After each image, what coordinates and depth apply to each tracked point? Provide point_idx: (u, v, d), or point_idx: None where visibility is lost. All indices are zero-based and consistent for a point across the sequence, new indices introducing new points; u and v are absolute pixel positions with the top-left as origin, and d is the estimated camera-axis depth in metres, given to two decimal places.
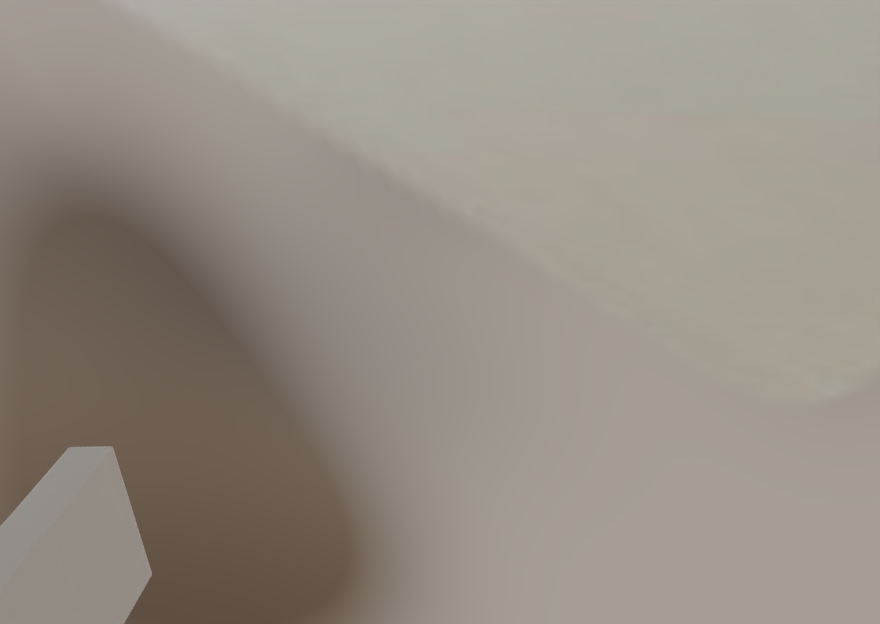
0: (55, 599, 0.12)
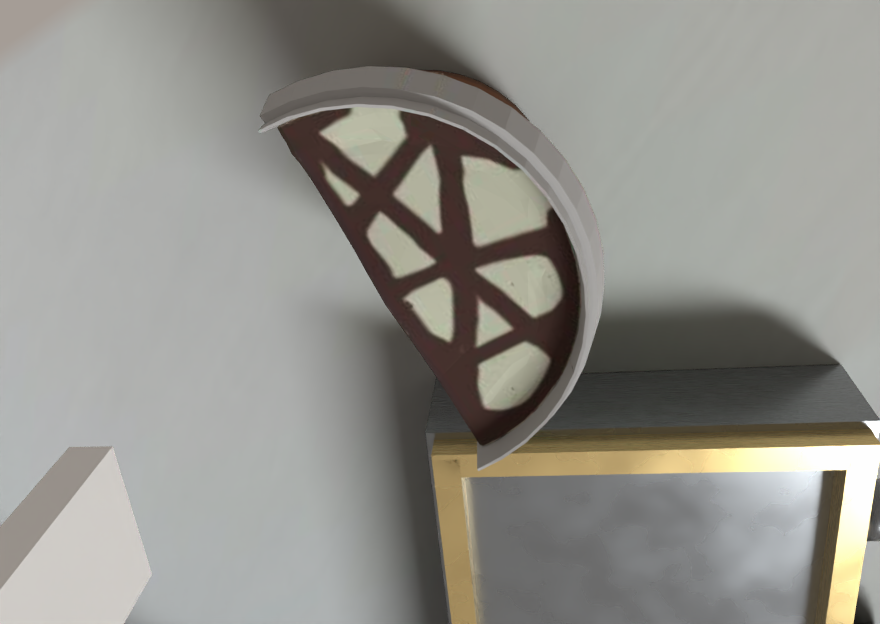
0: (55, 599, 0.12)
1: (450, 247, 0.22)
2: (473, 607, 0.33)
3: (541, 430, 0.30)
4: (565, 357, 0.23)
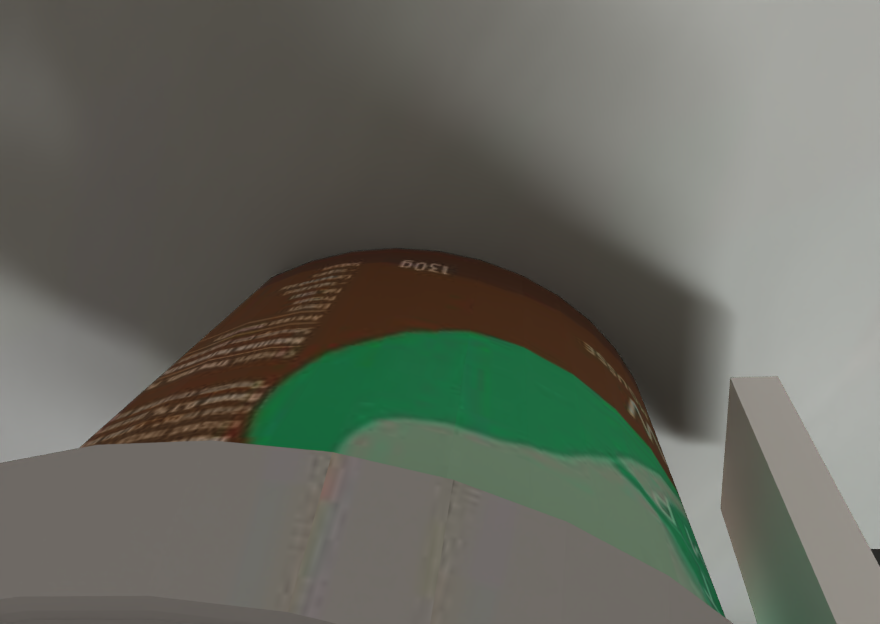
0: None
1: None
2: None
3: None
4: None
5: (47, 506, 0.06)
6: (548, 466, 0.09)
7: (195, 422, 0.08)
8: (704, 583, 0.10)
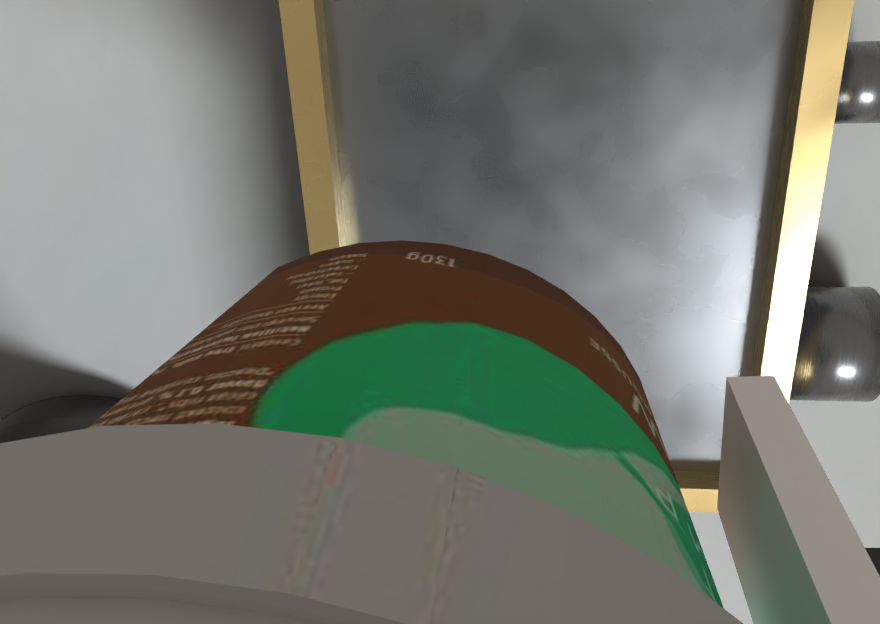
0: None
1: None
2: (331, 186, 0.25)
3: None
4: None
5: (52, 485, 0.06)
6: (551, 458, 0.09)
7: (200, 407, 0.08)
8: (705, 578, 0.10)
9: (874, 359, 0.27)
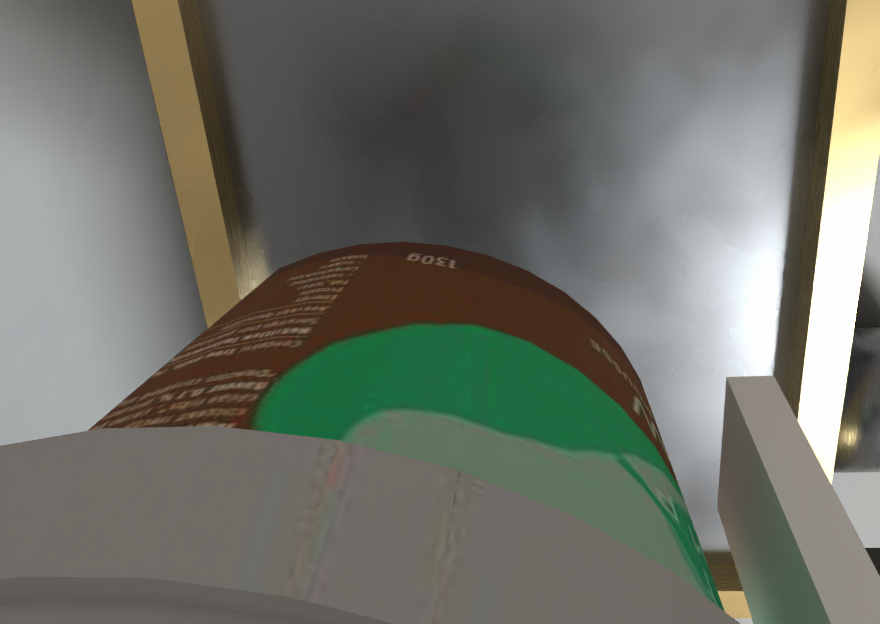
0: None
1: None
2: (224, 234, 0.19)
3: None
4: None
5: (53, 488, 0.06)
6: (552, 460, 0.09)
7: (201, 409, 0.08)
8: (706, 581, 0.10)
9: None
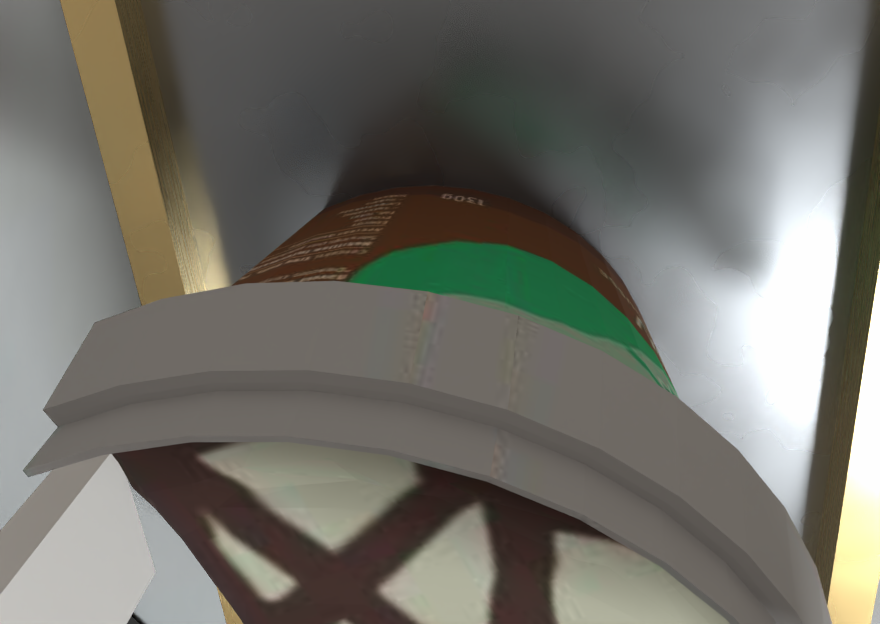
0: (60, 597, 0.12)
1: None
2: (180, 284, 0.17)
3: None
4: None
5: (215, 321, 0.08)
6: (578, 338, 0.11)
7: None
8: None
9: None
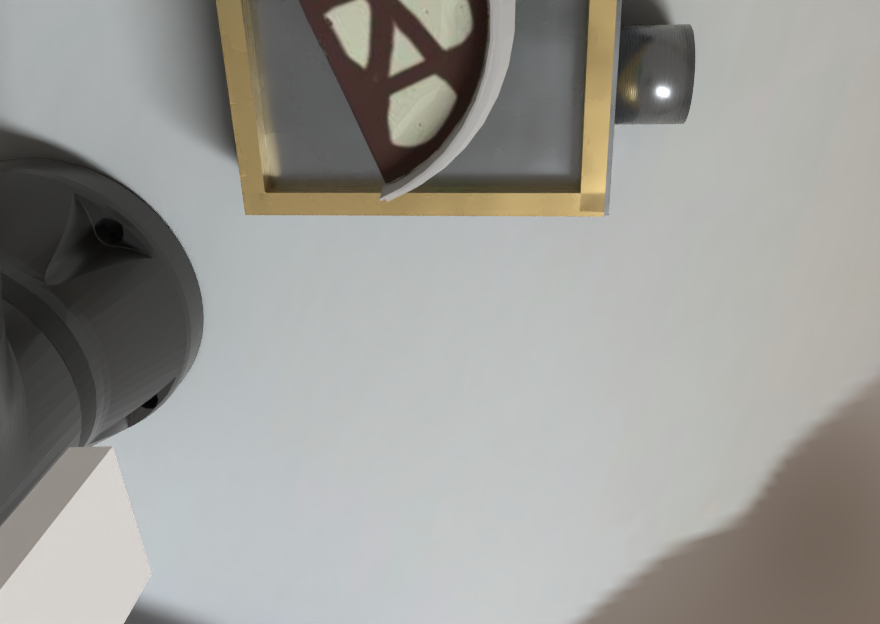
0: (55, 599, 0.12)
1: None
2: None
3: None
4: (470, 93, 0.24)
5: None
6: None
7: None
8: None
9: (681, 71, 0.32)
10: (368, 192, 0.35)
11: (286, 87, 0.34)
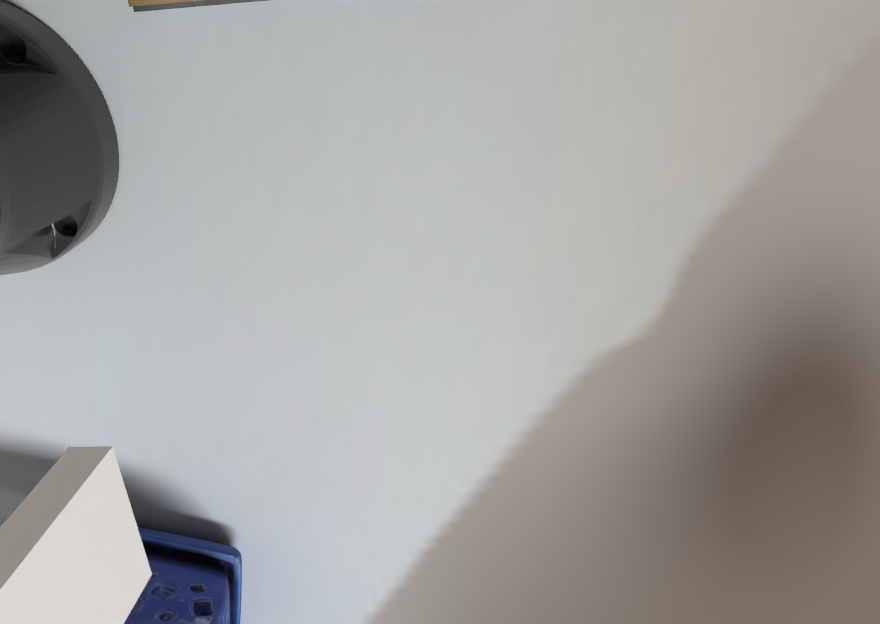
0: (55, 599, 0.12)
1: None
2: None
3: None
4: None
5: None
6: None
7: None
8: None
9: None
10: None
11: None
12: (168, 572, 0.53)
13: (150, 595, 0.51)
